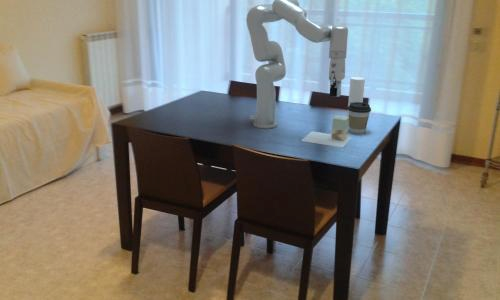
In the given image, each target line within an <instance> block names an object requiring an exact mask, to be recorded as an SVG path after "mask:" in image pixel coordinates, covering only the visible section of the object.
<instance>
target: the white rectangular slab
mask: <svg viewBox="0 0 500 300" xmlns="http://www.w3.org/2000/svg"><path fill="white" fill-rule="evenodd" d="M331 137H332V133H325V132H319V131H313V130H312V131H310V132H309V133H307V135H306V136H304V137H303V138H301V140H300V141H301V142H306V143H313V144H319V145H324V146H331V147H337V148H344V147H345V146H346V145H347V144H348V142H350V141H351V139H352V136H347V138H346V139H345V140H344V141H341V140H334V139H331Z"/></svg>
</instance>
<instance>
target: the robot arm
mask: <svg viewBox="0 0 500 300" xmlns="http://www.w3.org/2000/svg"><path fill="white" fill-rule="evenodd" d="M281 20H284V21H286V22H287V23H289V24H290V25H292V26H294V27H295V30H296V31H297V32H298V34H299V35H301V36H302V37H303V38H305V39H306V40H308V41H309V42H311V43H316V44H319V43H324V42H325V43H326V42H329V49H328V51H329V52H328V58H329V59H330V61H329V67H328V68H329V69H328V70H329V72H328V80H329V96H330V97H333V96H334V98H335V97H336V96H337V81H338V82H341V83H342V81H343V80H344V79H345V77H346V58H347V49H348V39H349V37H348V36H349V29H348V27H347V26H345V25H334V24H330V23H324V24H315V23H313V22H312V21H310V20H309V19H307V11H306V9H304V8H302V7H301V6H300V3H299V1H298V0H273V2H272V3H271V4H258V5H255V6H253V7H251V8H250V9H249V10H248V12H247V15H246V18H245V21H246V27H247V29H248V34H249V37H250V42H251V46H252V51H253V56H254V58H255V61H257V62H259V63H264V62H267V63H266V64H262V65H260V66H258V67H257V69H256V70H255V74H254V76H255V82H256V115H252V114H250V115H249V119H250V121H253V123H252V125H253V127H255V128H257V129H265V130H267V129H274V128H276V127H278V126H279V125H278V124H279V123H278V121H276V94H277V93H276V91H277V90H276V87H275V84H274V83H275V82H279V81H282V80H283V79H284V78H285V77H286V72H287V71H286V64H285V59H284V55H283V54H284V53H283V50H282V47H281V45H280V44H279V43H278V42H277V41H274V40H269V36H268V31H267V29H266V27H265V26H264V25H263V24H264V23H275V22H278V21H281ZM334 82H335V83H334Z"/></svg>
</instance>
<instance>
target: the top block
mask: <svg viewBox="0 0 500 300" xmlns="http://www.w3.org/2000/svg"><path fill="white" fill-rule="evenodd" d="M348 122H349V117H347V116H345V115H335V116H334V117H333V118H332V124H331V130H332V129H336V130H343V131H345V130H346V129H347V128H348V129H349V127H348Z"/></svg>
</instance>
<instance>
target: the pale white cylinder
mask: <svg viewBox="0 0 500 300" xmlns="http://www.w3.org/2000/svg"><path fill="white" fill-rule="evenodd" d="M334 83H335V82H334ZM341 95H342V81H341V82H338V81H337V96H336V97H337V98H338V97H341ZM332 97H334V96H332ZM334 98H335V97H334Z"/></svg>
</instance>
